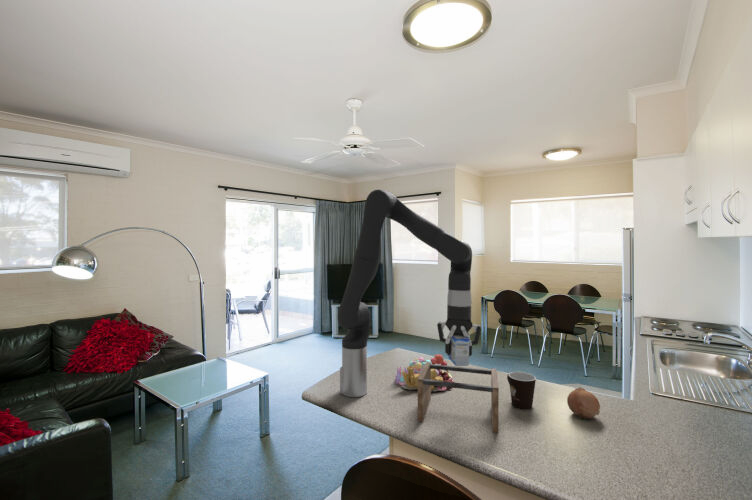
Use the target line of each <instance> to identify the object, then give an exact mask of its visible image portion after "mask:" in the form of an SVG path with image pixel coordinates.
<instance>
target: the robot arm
mask: <svg viewBox="0 0 752 500" xmlns="http://www.w3.org/2000/svg"><path fill="white" fill-rule="evenodd" d="M386 218H387V219H389V220H392V221H395V222H396V223H397V224H399V225H401V226H403V227H404V228H405V229H407V230H408V231H409V233H411V235H413V236H414V237H415V238H417V239H418V240H419V241H421V242H422V243H424V244H426V245H427V246H428V247H431V248H432V249H434V250H436V251H437V252H438V253H440V254H441V255H442V256H443V257H445V259H447V260H449V261H450V272H449V273H448V279H447V280H448V284H447V285H448V287H447V299H446V303H447V305H446V310H447V311H446V313H447V314H446V321H444V322H442V321H439V322H437V324H436V325H437V332H438V337H439V341H440V342H442V343H444V344H445V345H444V347H445V348H444V353H445V354H446V356H448V357H449V356H450V340H451V338H452V336H453V335H460V336H464V337H465V338H468V339H469V358H470V357H471V356H472V355H473V346H476V345H478V344H479V340H480V335H481V328H482V326H481V324H474V323H473V322H472V303H473V302H472V293H471V291H472V290H471V286H472V284H471V280H472V279H471V277H472V276H471V270H472V262H473V261H472V260H473V250H472V247H471V246H470V244H468V243H466V242H465V241H461V240H459V239H458V238H456V237H454V236H452V235H450V234H449V232H447V231H446V230H445V229H444V228H442V227H440V226H439V225H437V224H435V223H433V222H432V221H430V220H429V219H427V218H425V217H424V216H421V214H419V213H416V211H413V210H412V209H411V208H409V207H408V206H407V205H405V204H404V203H403V202H402V201H401V200H400V199H398V197H396V196H395V195H394V194H393V193H392V192H390V191H387V190H384V189H383V190H382V189H373V190H372V191H371V192H370V193H369V194H368V195H367V197H366V200H365V203H364V210H363V215H362V224H361V229H360V232H359V237H358V241H357V244H356V249H355V252H354V256H353V258H352V259H353V260H352V264H351V269H350V272H349V273H350V274H349V277H348V280H347V285H346V288H345V291H344V293H343V297H342V299H341V302H340V304H339V308H338V311H337V322H338V325H339V326H340V328H341V329H343V330H348V331H347V333H346V335H344V336H343V338H342V340H341V366H340V368H339V394H340V395H343V396H345V397H347V398H360V397H363V396H365V395H366V394H367V393H368V342H369V341H368V340H369V338H370V327H371V326H370V325H371V315H370V309H369V307H368V306H367V304H366V303H365V302H364V301H363V302H362V298H363V297H364V294H365V292H366V290H367V289H368V287H369V286H370V284H371V283H372V281H373V280H374V279H375V277H376V274H377V272H378V269H379V265H380V261H381V256H382V242H381V240H382V239H381V237H382V236H381V235H382V228H383V226H384V222H385V219H386ZM445 327H446V328H447V330H448V331H449V333H448V334H447V337H445V336H444V335H445V334H444V329H445ZM471 329H473V332H475V335H474V339H472V338H471V336H470V333H469V332H470V330H471Z"/></svg>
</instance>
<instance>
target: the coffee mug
mask: <svg viewBox="0 0 752 500" xmlns="http://www.w3.org/2000/svg"><path fill="white" fill-rule="evenodd" d="M506 379H507V382H508V385H509V392H510V400H511V405H512V407H513V408H515V409H517V410H521V411H529V410H531V409H533V403H534V395H535V388H536V382H537V377H536V376H535V375H533V374H531V373H528V372H524V371H511V372H509V373H508V374H507V375H506Z"/></svg>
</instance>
